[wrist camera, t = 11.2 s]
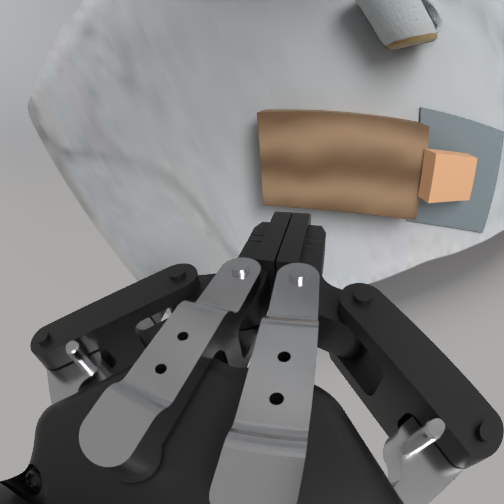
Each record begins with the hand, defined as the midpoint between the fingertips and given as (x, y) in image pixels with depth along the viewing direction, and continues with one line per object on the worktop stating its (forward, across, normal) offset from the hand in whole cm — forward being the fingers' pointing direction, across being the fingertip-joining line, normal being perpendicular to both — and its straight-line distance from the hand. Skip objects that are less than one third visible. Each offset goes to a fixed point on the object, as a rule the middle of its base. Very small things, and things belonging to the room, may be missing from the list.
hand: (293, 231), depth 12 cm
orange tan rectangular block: (+23, -16, +3) cm, 28 cm away
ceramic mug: (+26, -11, -17) cm, 33 cm away
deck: (+25, -3, +3) cm, 25 cm away
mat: (+25, -20, +3) cm, 32 cm away
